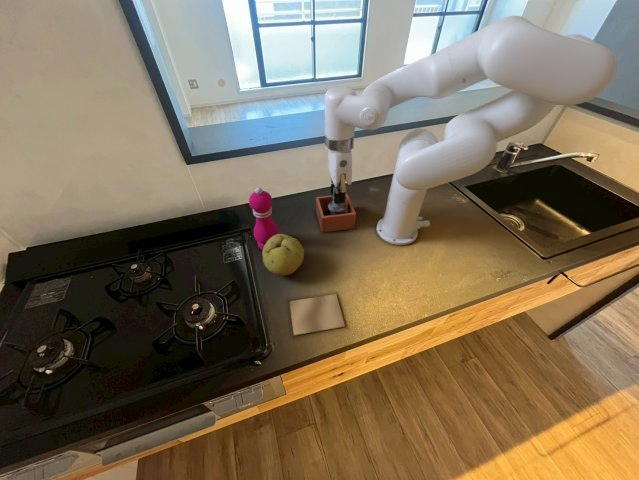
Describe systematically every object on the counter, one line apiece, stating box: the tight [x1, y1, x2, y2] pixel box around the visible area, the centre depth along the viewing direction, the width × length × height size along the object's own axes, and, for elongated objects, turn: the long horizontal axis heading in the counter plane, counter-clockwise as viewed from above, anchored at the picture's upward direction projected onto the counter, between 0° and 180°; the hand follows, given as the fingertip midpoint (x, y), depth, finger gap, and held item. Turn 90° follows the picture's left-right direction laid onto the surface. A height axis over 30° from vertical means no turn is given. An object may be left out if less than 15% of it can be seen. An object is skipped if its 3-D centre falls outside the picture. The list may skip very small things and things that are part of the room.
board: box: [289, 293, 346, 337], centre depth 67 cm, size 12×9×1 cm
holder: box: [315, 193, 357, 233], centre depth 90 cm, size 11×11×6 cm
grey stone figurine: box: [328, 186, 347, 216], centre depth 86 cm, size 6×6×12 cm
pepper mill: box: [248, 186, 280, 251], centre depth 77 cm, size 7×7×20 cm
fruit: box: [261, 233, 305, 277], centre depth 74 cm, size 11×12×10 cm
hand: (337, 198), depth 85 cm, fingers closed on grey stone figurine, 3 cm apart
